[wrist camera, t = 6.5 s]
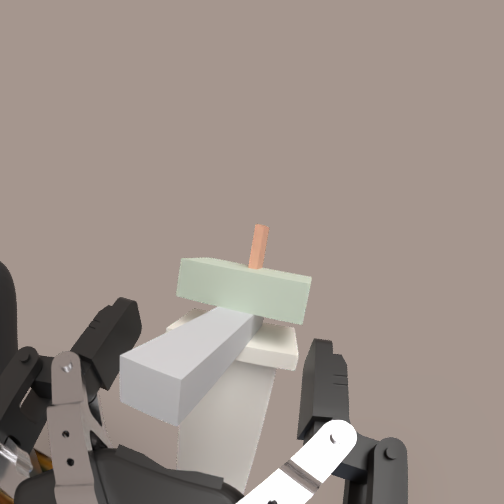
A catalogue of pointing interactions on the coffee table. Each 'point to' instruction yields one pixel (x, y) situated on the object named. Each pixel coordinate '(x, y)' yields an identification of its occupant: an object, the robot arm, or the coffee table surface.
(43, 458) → the coffee table surface
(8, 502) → the coffee table surface
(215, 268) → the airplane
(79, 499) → the robot arm
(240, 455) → the stand
